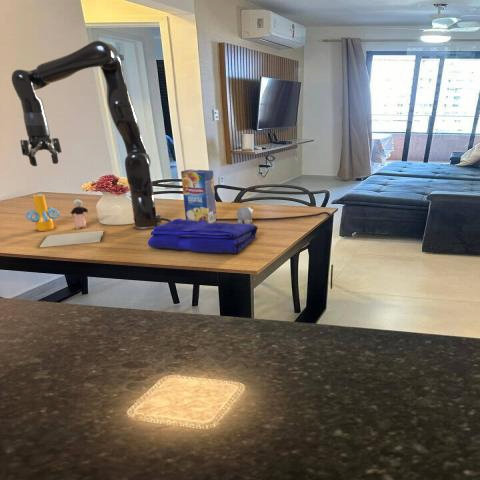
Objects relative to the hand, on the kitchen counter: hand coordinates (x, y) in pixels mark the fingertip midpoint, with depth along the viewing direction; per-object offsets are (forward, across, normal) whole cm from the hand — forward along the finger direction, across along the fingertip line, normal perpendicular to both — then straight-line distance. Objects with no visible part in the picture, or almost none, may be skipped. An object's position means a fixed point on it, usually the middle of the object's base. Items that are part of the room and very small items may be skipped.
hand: (45, 164), depth 159 cm
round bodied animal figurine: (+28, +43, -69) cm, 86 cm away
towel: (+28, +11, -70) cm, 77 cm away
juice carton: (+28, +35, -49) cm, 66 cm away
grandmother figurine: (+28, +5, -8) cm, 29 cm away
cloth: (+28, -8, -20) cm, 35 cm away
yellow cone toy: (+28, -4, +3) cm, 28 cm away
